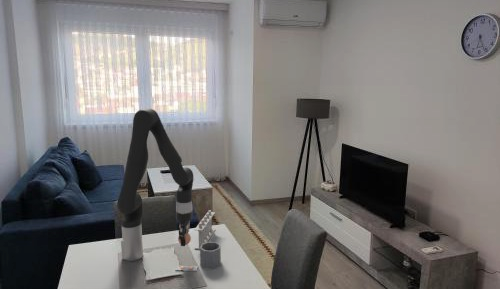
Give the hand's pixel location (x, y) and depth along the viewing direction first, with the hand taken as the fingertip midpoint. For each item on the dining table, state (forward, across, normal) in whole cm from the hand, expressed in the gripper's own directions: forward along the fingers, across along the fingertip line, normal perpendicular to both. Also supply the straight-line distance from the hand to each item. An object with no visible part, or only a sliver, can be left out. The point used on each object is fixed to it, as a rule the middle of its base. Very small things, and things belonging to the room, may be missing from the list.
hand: (184, 242), depth 168 cm
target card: (+10, +7, +2) cm, 12 cm away
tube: (+9, +2, +13) cm, 16 cm away
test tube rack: (+10, -24, +6) cm, 27 cm away
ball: (-2, 0, 0) cm, 2 cm away
